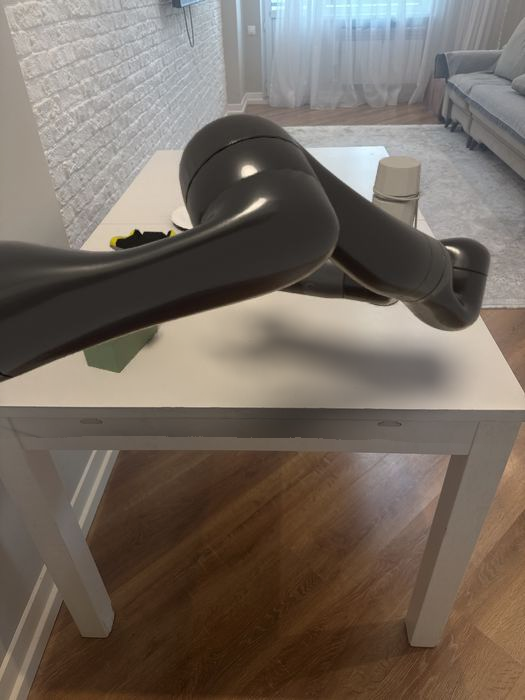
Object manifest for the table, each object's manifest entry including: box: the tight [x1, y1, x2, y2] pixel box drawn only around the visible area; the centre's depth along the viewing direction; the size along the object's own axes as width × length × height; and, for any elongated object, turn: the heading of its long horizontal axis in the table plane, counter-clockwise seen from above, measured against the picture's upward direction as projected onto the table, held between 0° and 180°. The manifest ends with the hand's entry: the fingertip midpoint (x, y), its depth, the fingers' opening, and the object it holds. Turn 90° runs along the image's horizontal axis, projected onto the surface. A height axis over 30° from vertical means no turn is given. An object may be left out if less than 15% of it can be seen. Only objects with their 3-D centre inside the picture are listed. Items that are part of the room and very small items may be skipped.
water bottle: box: [371, 155, 423, 306], centre depth 85 cm, size 9×8×25 cm
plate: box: [170, 204, 193, 231], centre depth 125 cm, size 21×21×2 cm
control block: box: [82, 325, 158, 374], centre depth 79 cm, size 6×12×12 cm, turn 160°
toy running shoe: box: [109, 228, 177, 251], centre depth 109 cm, size 15×6×10 cm
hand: (193, 249), depth 66 cm, fingers open, 6 cm apart
